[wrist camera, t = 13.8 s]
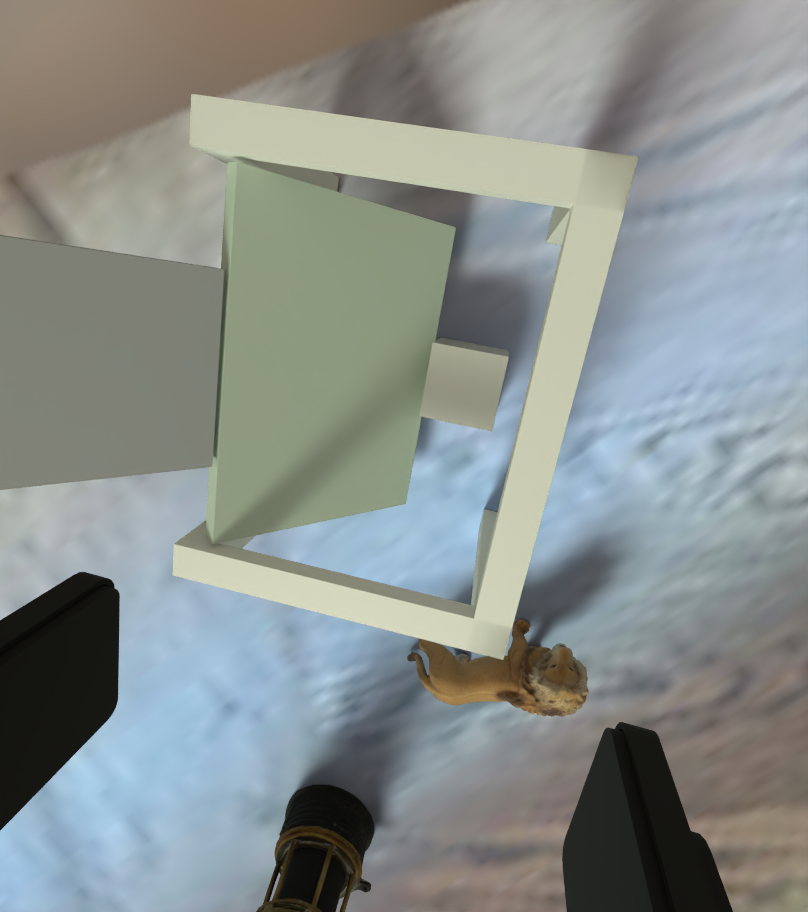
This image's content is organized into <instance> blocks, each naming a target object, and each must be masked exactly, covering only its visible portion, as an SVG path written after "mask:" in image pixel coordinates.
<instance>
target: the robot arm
mask: <svg viewBox="0 0 808 912" xmlns="http://www.w3.org/2000/svg"><path fill="white" fill-rule="evenodd" d="M119 599H120V596H119V592H118V590H116V589H115V588H114V583H113V582H112V580H110V579H108V578H104V577H100V576H97V575H93V574H90V573H86V572H79V573H77V574H75V575H73V576H71V577H70V578H68V579H67V580H65V581H63V582H62V583H60V584H59V585H57V586H55V587H54V588H52V589H50V590H49V591H47V592H46V593H44V594H42V595H41V596H39V597H37V598H36V599H34V600H33V601H31V602H29V603H28V604H26V605H25V606H23V607H21V608H20V609H18V610H16V611H15V612H13V613H12V614H10V615H8V616H7V617H5V618H3V619H2V620H0V830H1V829H2V828H3V827H4V826H5V825H6V824H7V823H8V822H9V821H10V820H11V819H12V818H13V817H14V816H15V815H16V814H17V813H18V812H19V811H20V810H21V809H22V808H23V807H24V806H25V805H26V804H27V803H28V802H29V800H30V799H31V798H32V797H33V796H34V795H35V794H36V793H37V792H38V791H39V790H40V789H41V788H42V787H43V786H44V785H45V784H46V783H47V782H48V781H49V780H50V779H51V778H52V777H53V776H54V775H55V774H56V773H57V772H58V771H59V770H60V769H61V768H62V767H63V766H64V764H65V763H66V762H67V761H68V760H69V759H70V758H71V757H72V756H73V755H74V754H75V753H76V752H77V751H78V750H79V749H80V748H81V747H82V746H83V745H84V744H85V743H86V742H87V741H88V740H89V739H90V738H91V737H92V736H93V735H94V734H95V733H96V732H97V731H98V730H99V728H100V727H101V726H102V725H103V724H104V723H105V722H106V721H107V720H108V719H109V718H110V717H111V715H112V713H113V712H114V710H115V708H116V705H117V701H118V663H119ZM562 861H563V874H564V885H565V896H566V907H567V912H733V911H732V908H731V905H730V902H729V900H728V897H727V894H726V891H725V889H724V886H723V883H722V881H721V878H720V875H719V872H718V870H717V867H716V864H715V861H714V859H713V856H712V853H711V851H710V849H709V846H708V844H707V842H706V840H705V839H704V838H703V837H702V836H701V835H700V834H698V833H695V832H692V831H691V830H690V828H689V825H688V822H687V819H686V816H685V813H684V810H683V807H682V804H681V801H680V798H679V795H678V792H677V789H676V787H675V784H674V781H673V778H672V775H671V772H670V769H669V766H668V763H667V760H666V757H665V754H664V751H663V748H662V745H661V743H660V740H659V737H658V735H657V733H656V732H654V731H652V730H648V729H645V728H641V727H638V726H634V725H630V724H627V723H623V722H619V723H618V724H617V726H616V728H615V729H612V728H606V729H605V730H604V733H603V735H602V738H601V740H600V743H599V746H598V749H597V752H596V754H595V757H594V760H593V763H592V765H591V768H590V771H589V774H588V776H587V779H586V782H585V785H584V787H583V790H582V793H581V796H580V798H579V801H578V804H577V807H576V810H575V812H574V815H573V818H572V821H571V823H570V826H569V829H568V832H567V834H566V837H565V841H564V846H563V858H562Z"/></svg>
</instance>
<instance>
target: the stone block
mask: <svg viewBox="0 0 808 912" xmlns="http://www.w3.org/2000/svg"><path fill="white" fill-rule="evenodd" d="M508 359H509V353H508V350H506V349H500V348H495V347H489V346H484V345H479V344H473V343H468V342H463V341H457V340H452V339H447V338H439V339H438V340H436V341H434V342H433V343H432V349H431V354H430V360H429V365H428V371H427V376H426V382H425V387H424V393H423V398H422V404H421V410H420V415H419V416H420V417H425V418H430V419H435V420H440V421H445V422H449V423H454V424H459V425H464V426H469V427H474V428H479V429H483V430H488V431H492V430H493V425H494V421H495V416H496V412H497V407H498V403H499V399H500V394H501V390H502V385H503V381H504V376H505V372H506V368H507V363H508Z"/></svg>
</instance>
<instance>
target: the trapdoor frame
mask: <svg viewBox="0 0 808 912" xmlns="http://www.w3.org/2000/svg"><path fill="white" fill-rule="evenodd" d="M190 146H192V147H194V148H196V149H198V150H200V151H202V152H204V153H206V154H208V155H210V156H212V157H214V158H216V159H218V160H220V161H222V162H224V163H226V164H227V163H228V162H239V163H243V164H246V165H249V166H253V167H256V168H259V169H263V170H266V171H269V172H273V173H276V174H279V175H283V176H286V177H289V178H293V179H296V180H299V181H303V182H306V183H309V184H313V185H316V186H319V187H323V188H326V189H329V190H333V191H336V192H337V190H338V181H339V178H338V177H337V176H336V175H334V174H333V173H332V172H335V173H342V174H349V175H355V176H362V177H368V178H375V179H381V180H388V181H394V182H401V183H407V184H414V185H420V186H427V187H433V188H440V189H446V190H453V191H460V192H466V193H473V194H479V195H486V196H492V197H499V198H505V199H512V200H518V201H525V202H531V203H538V204H544V205H551V206H555V208H554V210H553V213H552V217H551V221H550V226H549V230H548V234H547V239H546V243H552V244H558V245H562V247H561V251H560V255H559V259H558V263H557V267H556V271H555V276H554V280H553V284H552V288H551V292H550V296H549V301H548V305H547V309H546V313H545V317H544V321H543V325H542V330H541V334H540V338H539V342H538V346H537V350H536V355H535V359H534V363H533V367H532V371H531V375H530V380H529V384H528V388H527V392H526V396H525V400H524V404H523V409H522V413H521V417H520V421H519V425H518V429H517V434H516V438H515V442H514V446H513V450H512V454H511V458H510V463H509V467H508V471H507V475H506V479H505V483H504V488H503V492H502V496H501V500H500V504H499V508H498V512H495V511H491V510H486V509H484V511H483V515H482V519H481V524H480V528H479V533H478V542H477V552H476V561H475V571H474V580H473V590H472V599H471V605H468V604H464V603H460V602H456V601H452V600H448V599H444V598H440V597H436V596H432V595H428V594H423V593H419V592H415V591H411V590H407V589H403V588H399V587H395V586H391V585H387V584H383V583H379V582H375V581H371V580H366V579H362V578H358V577H354V576H350V575H346V574H342V573H338V572H334V571H330V570H326V569H322V568H318V567H314V566H309V565H305V564H301V563H297V562H293V561H289V560H285V559H281V558H277V557H273V556H269V555H265V554H261V553H257V552H252V551H248V550H244V549H242V548H243V547H244V546H245V545H246V544H247V543H248V542H249V541H250V540H251V539H253V538H254V537H255V536H256V535H255V536H250V537H246V538H241V539H236V540H231V541H227V542H222V543H217V544H212V543H211V542H210V541H209V540H208V539H207V538H206V537H205V533H206V521H204V522H203V523H202V524H200V525H199V526H198V527H196V528H195V529H194V530H192V531H191V532H190V533H188V534H187V535H185V536H184V537H183V538H181V539H180V540H179V541H177V542H176V543H175V544H174V555H173V575H174V576H178V577H182V578H186V579H189V580H193V581H197V582H201V583H205V584H209V585H213V586H217V587H221V588H225V589H229V590H232V591H236V592H240V593H244V594H248V595H252V596H256V597H260V598H264V599H268V600H271V601H275V602H279V603H283V604H287V605H291V606H295V607H299V608H303V609H307V610H310V611H314V612H318V613H322V614H326V615H330V616H334V617H338V618H342V619H346V620H350V621H353V622H357V623H361V624H365V625H369V626H373V627H377V628H381V629H385V630H389V631H392V632H396V633H400V634H404V635H408V636H412V637H416V638H420V639H424V640H428V641H432V642H435V643H439V644H443V645H447V646H451V647H455V648H459V649H463V650H467V651H471V652H474V653H478V654H482V655H486V656H490V657H494V658H498V659H502V660H504V656H505V652H506V648H507V645H508V641H509V637H510V634H511V630H512V626H513V622H514V619H515V615H516V611H517V608H518V604H519V600H520V596H521V593H522V589H523V585H524V582H525V578H526V574H527V570H528V567H529V563H530V559H531V556H532V552H533V548H534V544H535V541H536V537H537V533H538V530H539V526H540V522H541V518H542V515H543V511H544V507H545V504H546V500H547V496H548V492H549V489H550V485H551V481H552V478H553V474H554V470H555V466H556V463H557V459H558V455H559V451H560V448H561V444H562V440H563V437H564V433H565V429H566V425H567V422H568V418H569V414H570V411H571V407H572V403H573V399H574V396H575V392H576V388H577V385H578V381H579V377H580V373H581V370H582V366H583V362H584V359H585V355H586V351H587V347H588V344H589V340H590V336H591V333H592V329H593V325H594V321H595V318H596V314H597V310H598V307H599V303H600V299H601V295H602V292H603V288H604V284H605V281H606V277H607V273H608V269H609V266H610V262H611V258H612V255H613V251H614V247H615V243H616V240H617V236H618V232H619V229H620V225H621V221H622V217H623V214H624V210H625V206H626V203H627V199H628V195H629V191H630V188H631V184H632V180H633V176H634V173H635V169H636V165H637V162H638V158H639V156H632V155H625V154H618V153H611V152H604V151H596V150H589V149H582V148H575V147H568V146H561V145H553V144H546V143H539V142H532V141H525V140H518V139H510V138H503V137H496V136H489V135H482V134H475V133H467V132H460V131H453V130H446V129H439V128H432V127H425V126H417V125H410V124H403V123H396V122H389V121H382V120H374V119H367V118H360V117H353V116H346V115H339V114H331V113H324V112H317V111H310V110H303V109H296V108H288V107H281V106H274V105H267V104H260V103H253V102H245V101H238V100H231V99H224V98H217V97H210V96H202V95H195V94H192V96H191V120H190Z"/></svg>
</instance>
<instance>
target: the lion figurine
mask: <svg viewBox="0 0 808 912" xmlns="http://www.w3.org/2000/svg"><path fill="white" fill-rule="evenodd" d="M529 627H530V625H529V624H528V623H527V621H525V620H522V619H519V620H518V621H517V622H516V623H515V624H514V626H513V631H512V637H513V641H512V644H511V647H510V649H509V650H508V656H504V660H502V659H498V658H494V657H490V656H485V657H479V658H476V659H473V660H471V661H470V657H469V656H468V655H466V654H458V655H456V656H454V655H453V654H452V653H451V652H450V651H449V650H448V649H447V648H445V647H444V646H442V645H440V644H438V643H435V642H432V641H428V640H424V639H420V638H419V648H420V650H422V651H424V652H425V653H426V654H427V656H428V658H429V675H427V673H426V670H425V667H424V663H423V660H422V657H421V656H420V655H419V654H418V653H414V652H412V653H411V654H409V655H408V657H407V659H408V661H416V664H417V671H418V675H419V678H420V680H421V682H422V684H423V685H424V687H425V688H426V689H427V690H429V691H430V692H431V693H433V695H434V696H435V697H436V698H437V699H439V700H440V701H442V702H445V703H448V704H451V705H461V704H465V703H471V702H480V701H498V702H499V701H508V702H509V703H510V704H512V705H513V706H515V707H518V708H521V709H522V710H524V711H528V712H529V713H537V715H542V716H546V715H548V716H554V715H558V716H560V717H561V716H565V715H570V714H574V713H575V712H576V711H577V709H581V708H582V705H583V704H584V702H585V700H586V696H587V694H588V692H589V691H588V688H587V685H586V684H587V671H586V668H585V667H584V666H583V664H582V663H581V662H580V661H578V660H576V659H575V658H574V657H573V653H572V650H571V649H570V648H567V647H566V646H565V645H564V644H561V643H559V644H556V645H555V646H554V647H553V648H552V650H551V649H549V648H545V647H538V646H530V647H529V646H528V644H527V641H526V639H525V637H524V634H525V633H527V632H528V631H529Z"/></svg>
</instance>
